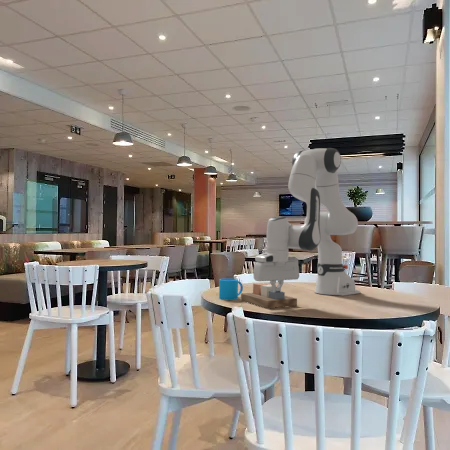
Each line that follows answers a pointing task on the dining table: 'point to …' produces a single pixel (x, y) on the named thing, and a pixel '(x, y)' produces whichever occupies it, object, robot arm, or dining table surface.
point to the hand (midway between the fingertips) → (276, 291)
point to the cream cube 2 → (266, 290)
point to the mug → (229, 289)
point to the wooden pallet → (268, 301)
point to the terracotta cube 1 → (257, 288)
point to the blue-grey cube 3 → (276, 295)
